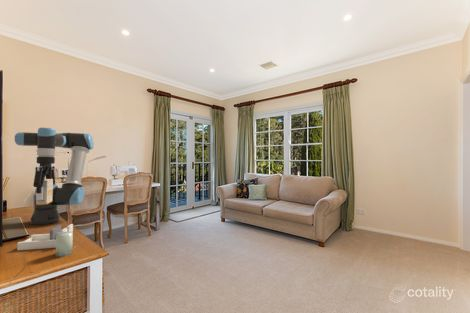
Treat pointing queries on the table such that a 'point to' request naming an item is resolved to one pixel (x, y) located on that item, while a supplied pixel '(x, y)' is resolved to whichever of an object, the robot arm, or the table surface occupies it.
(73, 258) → the table surface
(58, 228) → the pusher
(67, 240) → the sage jar
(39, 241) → the white open tray
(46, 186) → the supplement box
